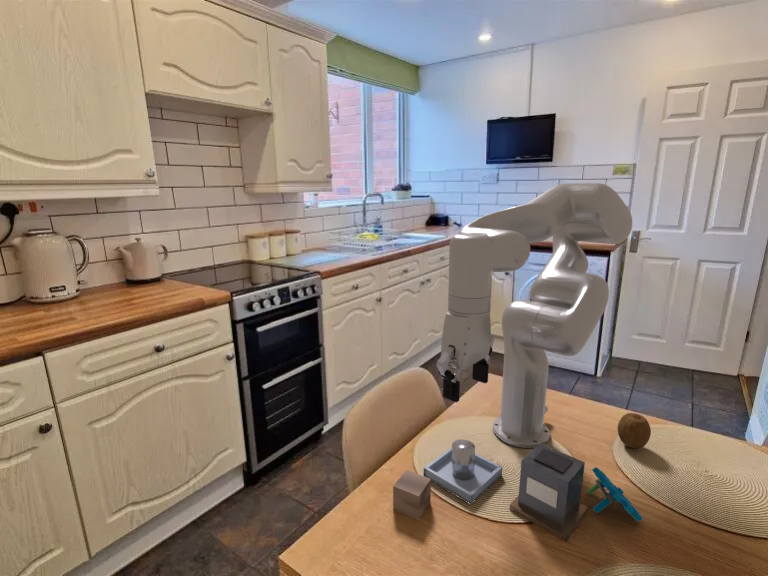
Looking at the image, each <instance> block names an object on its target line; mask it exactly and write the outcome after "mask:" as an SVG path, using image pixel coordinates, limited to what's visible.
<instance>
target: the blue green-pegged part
mask: <svg viewBox="0 0 768 576" xmlns="http://www.w3.org/2000/svg"><path fill="white" fill-rule="evenodd" d="M591 470H592V472H593V473H594V476H595V477H596V478H597V479H595V481H594V482H595V485H593V486H592V487H590V489H588V490H587V493H588V495H589V496H591V495H592V494H594V493H595V492H596V491H597V490H598V489H600V491H601V492H602V494H603V495H604V496H605V497H604V498H603V499H602V500H601V501H600V502H598V503H597V504H596V505H595V506H593V507H592V510H593V511H594V512H595V514H599V513H600V512H601V511H603V510H604V509H605V508H606V507H608V506H609V505H610V504H612V505H614V504H615V503H616V502H617V503H620V504H621V505H622V506H623V508H624V510H625V511H626V512H627V513H628V514H629V515H630V516H632V517H633V518H634V520H635V521H636V522H637V523H639V522H641V521H642V520H643V519H644V517H643V516H642V515H641V514H640V511H639V510H637V508H635V506H634V505H632V502H631V501H630V500H629V498H627V497H626V496H625V495H624V491H623V490H622V488H620V487H617V486H616V485H615V484H614V483H613V482H612V480H611V479H610V478H609V477H608V476H607V475H606V474H605V472H604V471H603V470H600V468H599V467H596V466H595V467H593V468H592V469H591ZM608 491H609V492H608Z"/></svg>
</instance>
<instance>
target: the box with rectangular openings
mask: <svg viewBox="0 0 768 576" xmlns="http://www.w3.org/2000/svg"><path fill="white" fill-rule="evenodd" d="M585 463H586V462H585V461H582V460H580V459H579V458H577V457H573V456H571V455H569V454H566V453H564V452H562V451H559V450H558V449H555V448H553V447H550V446H548V445H546V444H545V445H544V444H541V443H539V444H538V445H537V446H536V447H535V448H532V449H531V451H530V452H528V453H527V454H526V455H525V456H524V457H523V458H522V459H521V462H520V475H519V487H518V489H519V490H518V495H517V497H515V498H514V500H512V502H511V503H510V504H509V510H510V509H511V510H510V511H512V510H513V511H514V512H513V511H512V512H513V513H515V512H516V514H517V515H519V516H520V515H521V516H520V517H521V518H524V519H525V520H527V519H528V520H527V521H530V522H531V523H533V524H534V525H537V526H538V527H539V528H541V529H543V530H545V531H547V532H549V533H550V534H552V535H553V536H555V537H557V538H558V539H561V540H562V541H564V542H568V540H569V539H570V537H571V536H572V535H573V533H574V531H575V530H576V528H577V527H578V525H579V524H580V523H581V521H582V520H583V518H584V517H585V515H586V514H587V512H588V506H586V505H585V504H583V503H581V497H582V490H583V489H582V488H583V480H584V475H585Z"/></svg>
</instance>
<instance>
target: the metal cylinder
mask: <svg viewBox="0 0 768 576" xmlns="http://www.w3.org/2000/svg"><path fill="white" fill-rule="evenodd" d="M475 445H476V444H474V442H472V441H470V440H468V439H457V440H454V441H453V442H452V444H451V447H452V474H453V476H454V477H455V478H457V479H460V480H470V479H472V478H473V477H474V470H475V453H476V446H475Z"/></svg>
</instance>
